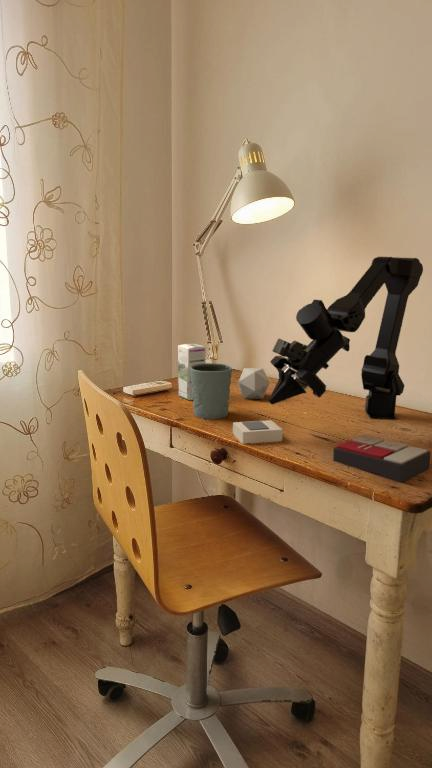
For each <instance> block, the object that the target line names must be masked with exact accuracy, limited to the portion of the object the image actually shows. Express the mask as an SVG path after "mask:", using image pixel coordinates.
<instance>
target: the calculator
mask: <svg viewBox="0 0 432 768" xmlns="http://www.w3.org/2000/svg"><path fill="white" fill-rule="evenodd" d="M332 452H333V453H332V454H333V455H332V458H333V459H332V461H333V462H335V463H338V464H342V465H345V466H348V467H351V468H355V469H357V470H361V471H364V472H367V473H368V472H369V473H372V474H376V475H379V476H380V477H382V478H385V479H387V480H391V481H394V482H397V483H400V484H401V483H406V482H407V481H409V480H411V479H412V478H414V477H417V476H419V475H421V474H423V473H424V472H426V471H428V470H430V467H431V451H428V449H426V448H420V447H415V446H408V444H406V443H401V442H398V441H392V440H387V439H386V440H384V439H383V438H378V437H374V436H369V435H364V434H363V435H360V436H358V437H355V438H353V439H351V440H346V441H345V442H341V443H338V444H337V445H336V446H335V447H333V451H332Z"/></svg>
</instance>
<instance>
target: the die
mask: <svg viewBox="0 0 432 768" xmlns="http://www.w3.org/2000/svg"><path fill="white" fill-rule="evenodd" d="M270 383H271V381H270V380H269V378H268V376H267V374H266V372H265V369H264V368H254V367H244V368H243V370H242V373H241V375H240V377H239V379H238V383H237V387H238V388H239V391H240V393H241V395H242V397H243V399H245V400H246V399H249V400H251V399H252V400H262V399H264V397H265V395H266V392H267V390H268V388H269V385H270Z"/></svg>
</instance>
